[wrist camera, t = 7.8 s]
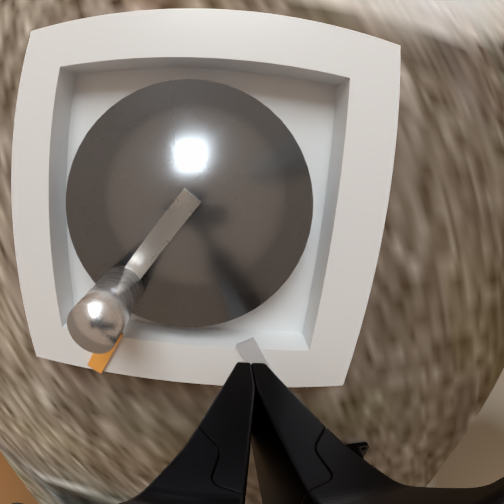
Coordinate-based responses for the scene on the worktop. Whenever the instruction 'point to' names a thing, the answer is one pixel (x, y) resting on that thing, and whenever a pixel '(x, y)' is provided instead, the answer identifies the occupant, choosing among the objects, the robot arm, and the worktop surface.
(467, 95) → the worktop surface
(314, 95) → the bezel
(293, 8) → the worktop surface
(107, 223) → the dial
